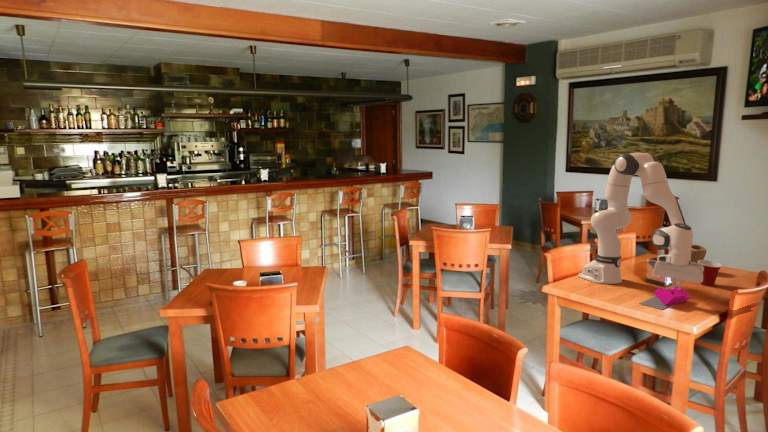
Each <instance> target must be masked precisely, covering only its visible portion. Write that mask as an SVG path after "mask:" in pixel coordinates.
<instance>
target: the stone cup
mask: <svg viewBox="0 0 768 432" xmlns="http://www.w3.org/2000/svg"><path fill="white" fill-rule="evenodd" d="M706 255H707V249H706V247H704V246H702V245H701V244H700V245H699V244H692V246H691V261H692V262H696V263H698V261H699V260H705V259H704V258H705V257H706Z"/></svg>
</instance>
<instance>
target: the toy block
mask: <svg viewBox="0 0 768 432" xmlns="http://www.w3.org/2000/svg"><path fill="white" fill-rule="evenodd" d="M653 294H654V295H655V296H657V297H658V299H659V300H660V301H661V302H662V303H663V304H664V305H665V306H667V305H672V304H674V305H676V304H681V303H682V304H683V303H686V302H687V301H688V300H689V299H690V298H691V297H692V296H691V295H690V294H689V293H688V292H687V291H686V290H685V289H684V288H683V287H682V286H681V289H677V288H673V287H672V288H668V289H665V288H664V287H658V288H657V289H655V291H654V292H653ZM672 306H673V305H672Z"/></svg>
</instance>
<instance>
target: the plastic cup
mask: <svg viewBox="0 0 768 432" xmlns="http://www.w3.org/2000/svg"><path fill="white" fill-rule="evenodd" d="M698 263H701V264H702V265H703V266H704V272H703V282H701V283H700V285H702V286H704V287H714V285H715V284H716V280H717V278H718V274H719V271H720V269H721V268H722V266H723V264H722V263H719V262H716V261H712V260H705V259H703V260H699V261H698ZM700 266H701V265H700Z"/></svg>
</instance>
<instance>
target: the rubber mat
mask: <svg viewBox="0 0 768 432" xmlns="http://www.w3.org/2000/svg"><path fill="white" fill-rule="evenodd" d="M641 304H642V306H646V307H648V308H649V307H650V308H654V309H657V310H661V311H664V310H666V309H667V308H670V307H672V306H674V305H675V304H672V305H667V306H665V305H664V304H663V303H662V302H661V301H660V300H659V299H658V297H657V296H656V295H655V296H652V297H650V298H648V299H646V300H644V301H642V302H640V303H639V304H638V305H641Z"/></svg>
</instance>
